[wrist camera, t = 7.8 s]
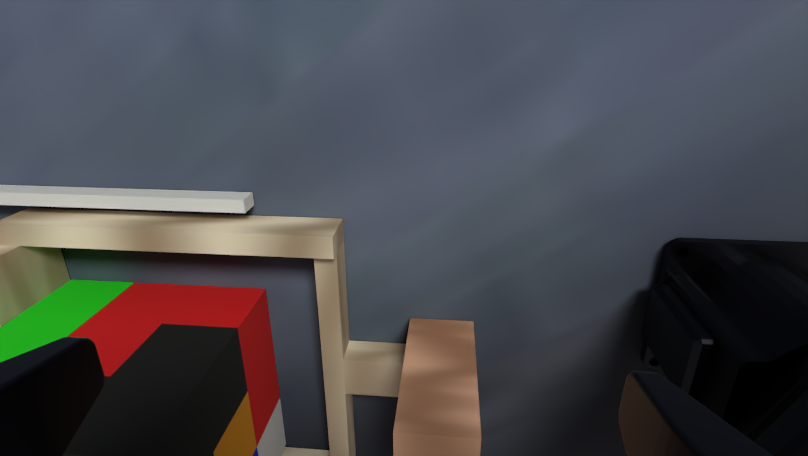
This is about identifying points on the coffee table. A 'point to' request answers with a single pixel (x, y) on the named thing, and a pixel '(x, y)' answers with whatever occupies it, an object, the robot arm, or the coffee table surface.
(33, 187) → the frame
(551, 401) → the coffee table surface
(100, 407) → the puzzle toy
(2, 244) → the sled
